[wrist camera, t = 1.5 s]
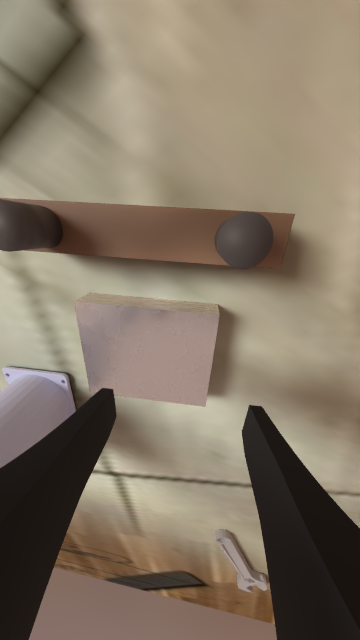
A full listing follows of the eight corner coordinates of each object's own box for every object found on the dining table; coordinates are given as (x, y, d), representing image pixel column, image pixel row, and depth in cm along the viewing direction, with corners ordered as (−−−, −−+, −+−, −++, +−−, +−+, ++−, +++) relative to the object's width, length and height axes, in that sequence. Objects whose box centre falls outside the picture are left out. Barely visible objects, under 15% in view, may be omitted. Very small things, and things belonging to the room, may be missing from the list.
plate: (204, 385, 22) (205, 406, 19) (103, 373, 23) (90, 392, 20) (216, 302, 18) (219, 314, 15) (92, 291, 19) (73, 301, 16)
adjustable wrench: (213, 525, 35) (213, 539, 34) (248, 524, 34) (251, 539, 32) (238, 579, 44) (240, 592, 43) (267, 580, 43) (270, 594, 41)
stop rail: (261, 260, 15) (303, 280, 9) (50, 245, 17) (-43, 253, 10) (271, 218, 14) (326, 207, 8) (41, 205, 15) (-70, 186, 9)
